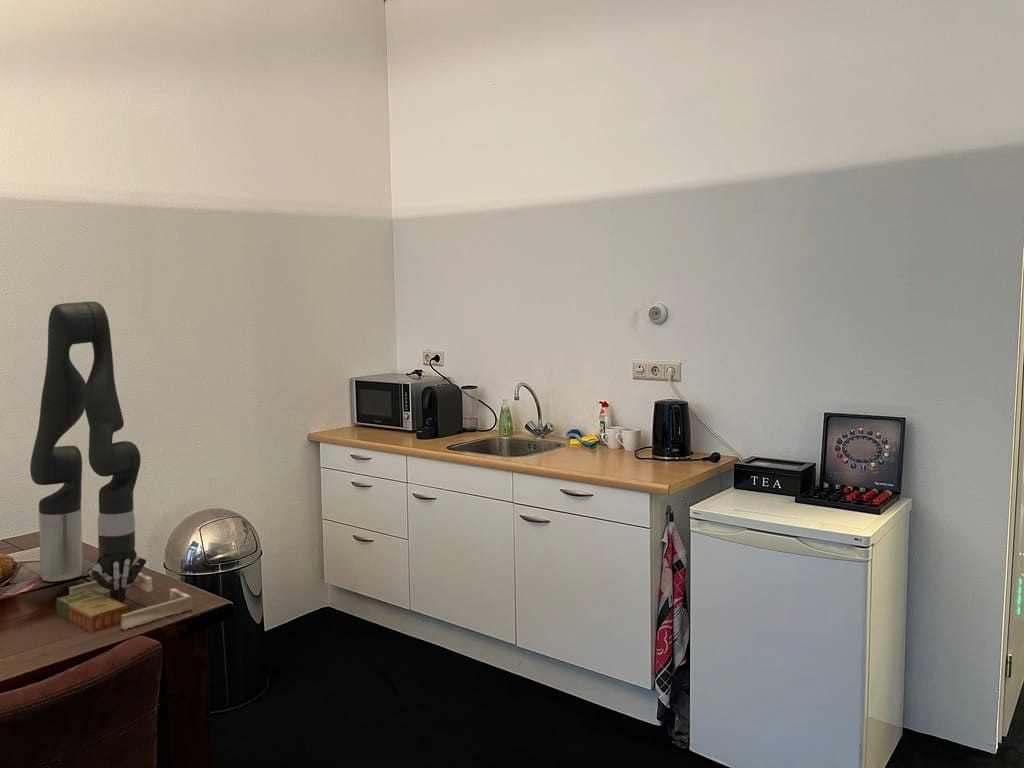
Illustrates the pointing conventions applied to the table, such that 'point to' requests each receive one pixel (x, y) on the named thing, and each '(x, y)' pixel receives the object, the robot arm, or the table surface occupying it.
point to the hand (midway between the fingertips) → (118, 603)
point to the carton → (91, 610)
